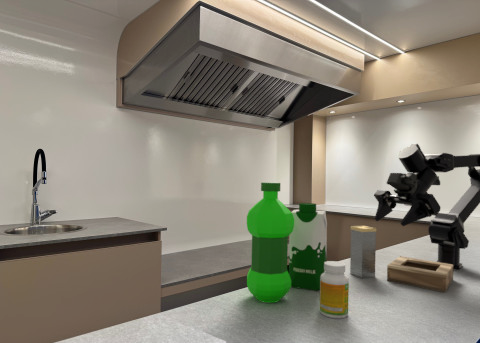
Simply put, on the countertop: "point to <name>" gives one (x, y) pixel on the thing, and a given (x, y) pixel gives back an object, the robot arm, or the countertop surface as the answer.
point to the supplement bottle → (334, 290)
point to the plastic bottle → (269, 246)
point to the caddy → (420, 273)
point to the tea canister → (363, 251)
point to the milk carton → (307, 247)
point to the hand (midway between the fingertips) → (388, 222)
